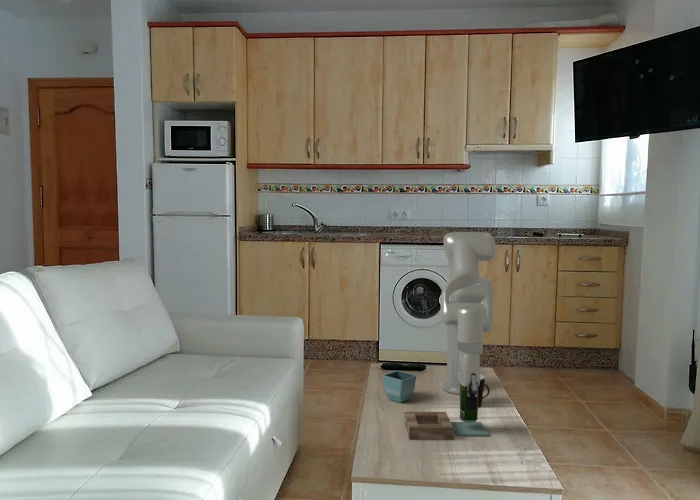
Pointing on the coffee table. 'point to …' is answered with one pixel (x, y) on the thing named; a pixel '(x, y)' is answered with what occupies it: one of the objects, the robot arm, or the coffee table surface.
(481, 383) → the coffee mug
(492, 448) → the coffee table surface
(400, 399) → the flower pot
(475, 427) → the rubber pad
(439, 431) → the holder block
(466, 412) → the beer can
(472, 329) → the robot arm
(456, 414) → the coffee table surface
